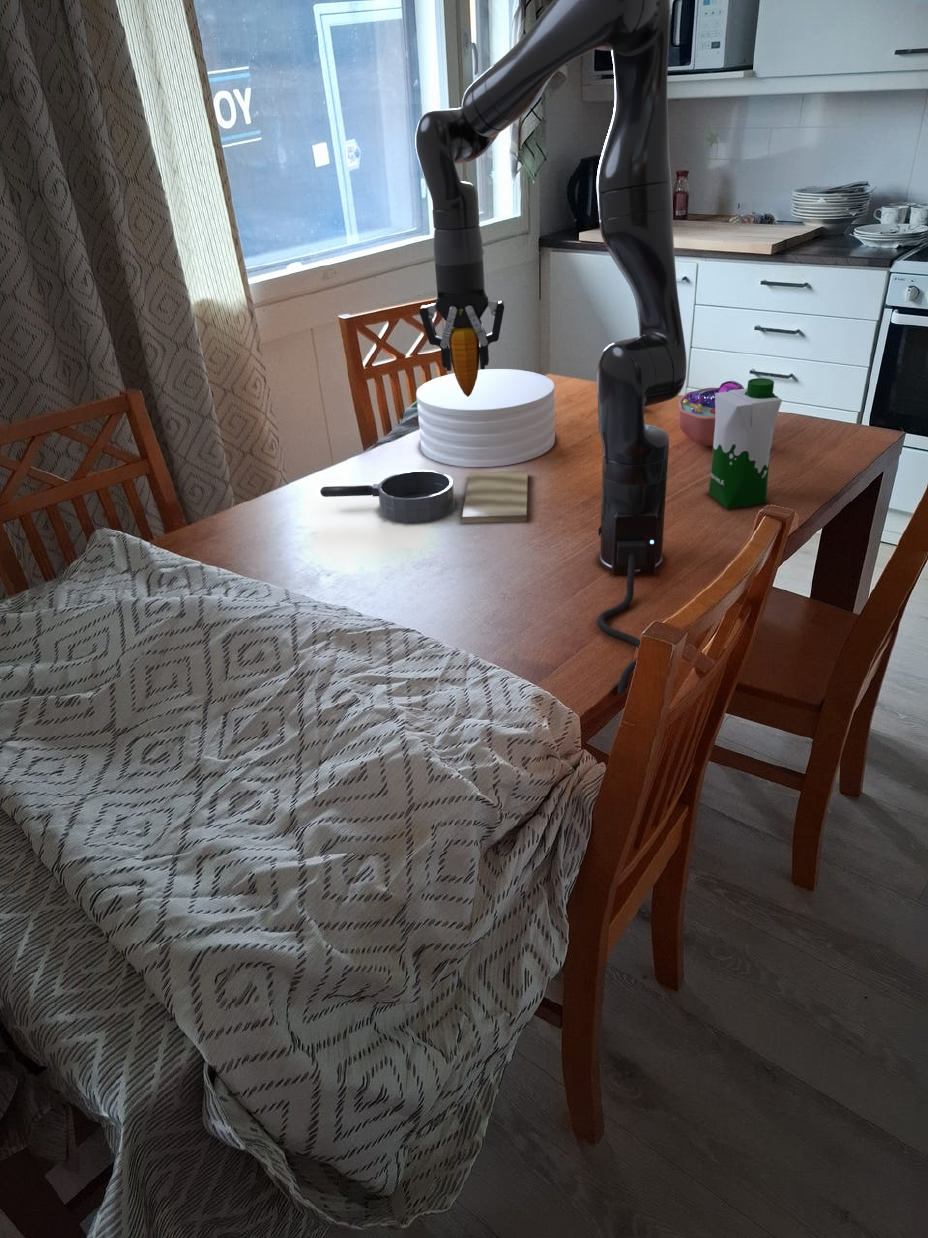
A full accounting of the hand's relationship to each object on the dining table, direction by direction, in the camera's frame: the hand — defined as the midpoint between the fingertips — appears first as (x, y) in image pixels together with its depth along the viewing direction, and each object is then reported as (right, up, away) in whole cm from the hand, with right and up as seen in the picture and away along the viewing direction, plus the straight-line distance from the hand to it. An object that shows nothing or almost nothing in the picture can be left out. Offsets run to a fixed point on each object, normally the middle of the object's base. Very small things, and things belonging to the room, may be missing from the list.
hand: (466, 368), depth 141 cm
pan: (-9, -21, +12) cm, 26 cm away
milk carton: (+47, -21, +7) cm, 51 cm away
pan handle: (-20, -19, +11) cm, 30 cm away
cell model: (+51, -6, +30) cm, 59 cm away
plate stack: (+5, -4, +38) cm, 39 cm away
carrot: (0, -4, +2) cm, 5 cm away
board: (+6, -20, +13) cm, 24 cm away
